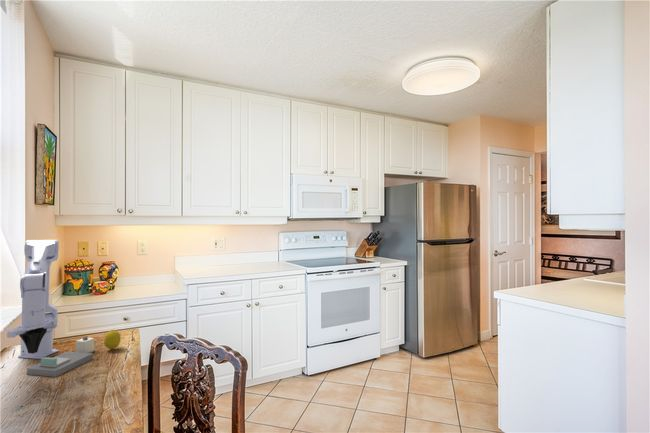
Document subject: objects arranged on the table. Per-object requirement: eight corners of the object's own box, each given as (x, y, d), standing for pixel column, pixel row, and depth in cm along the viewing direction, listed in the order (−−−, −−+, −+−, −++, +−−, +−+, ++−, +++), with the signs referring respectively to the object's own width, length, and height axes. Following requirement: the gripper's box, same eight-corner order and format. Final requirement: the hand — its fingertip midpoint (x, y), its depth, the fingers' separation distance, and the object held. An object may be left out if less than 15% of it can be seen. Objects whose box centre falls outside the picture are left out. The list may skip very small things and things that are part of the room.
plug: (75, 354, 132) (75, 338, 132) (84, 350, 137) (84, 334, 137) (85, 354, 132) (85, 339, 132) (94, 350, 136) (94, 335, 136)
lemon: (114, 352, 134) (115, 332, 134) (100, 352, 134) (101, 331, 134) (123, 347, 140) (123, 327, 140) (109, 347, 140) (110, 327, 140)
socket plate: (26, 374, 115) (27, 368, 115) (66, 356, 130) (66, 351, 130) (55, 376, 113) (55, 370, 113) (92, 358, 128) (92, 353, 128)
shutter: (39, 366, 116) (39, 358, 116) (55, 358, 122) (55, 351, 122) (54, 367, 116) (54, 359, 116) (70, 360, 122) (70, 352, 122)
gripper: (21, 317, 103) (20, 362, 103) (64, 305, 118) (63, 345, 118) (1, 316, 105) (0, 361, 104) (46, 304, 119) (45, 344, 119)
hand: (32, 352), depth 111 cm, fingers closed
